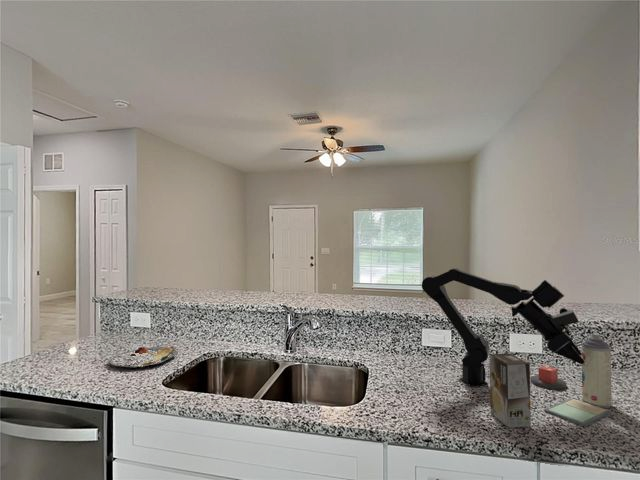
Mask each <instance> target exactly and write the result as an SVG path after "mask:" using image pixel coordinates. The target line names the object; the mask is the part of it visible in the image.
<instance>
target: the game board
mask: <svg viewBox="0 0 640 480" xmlns="http://www.w3.org/2000/svg"><path fill="white" fill-rule="evenodd" d="M611 411H612V410H609V409H603V408H600V407H597V406H594V405H591V404H588V403H585V402H583V401H582V400H579V399H578V400H577V399H575V398H568V399H566V400H563V401H561V402H558V403H556V404H553V405H551V406H549V407H546V408H544V412H545V413H547V414H551V415H552V416H555V417H559V418H560V419H564V420H567V421H568V422H572V423H573V424H576V425H580V426H582V427H584V428H585V427H587V426H589V425H592V424H593V423H595V422H598V421H599V420H601V419H604V418H605V417H606V416H609V415H611V413H612V412H611Z"/></svg>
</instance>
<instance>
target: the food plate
mask: <svg viewBox="0 0 640 480" xmlns="http://www.w3.org/2000/svg"><path fill="white" fill-rule="evenodd" d="M148 350H152V351H157V354H156V355H157V356H156V355H153V356H152V357H155V356H156V357H155V358H156V359H153V360H156V361H155V362H148V363H147V362H145V363H143V364H139V363H138V365H143V366H148V367H149V365H157V364H161V363H164V362H165V361H167V360H170V359H172V358H173V357H175V356H177V355H179V354H178V351H177V350H176V349H175V347H174V346H169V347H165V346H159V347H158V346H153V347H145V346H143V347H142V346H140V347H138V348H136V349H133V350H130V351H125V352H122V353H120V354H118V355H116V356H114V357H111V358H110V359H109V360H108V364H110V365H112V366H114V367H121V366H120V365H116V364H113V363H112V359H114V358H116V357H117V356H119V355H122V354H124V353H128V352H134V351H135V353H139V354H142V353H148V354H151V353H150V352H149V351H148ZM170 354H171V355H170ZM169 355H170V356H169ZM130 356H136V355H135V354H131V355H130ZM140 356H141V355H140ZM147 356H148V355H147ZM168 356H169V357H168ZM148 359H149V358H148ZM151 360H152V359H151ZM159 360H161V362H157V361H159ZM156 362H157V363H156ZM122 367H124V368H137V367H139V366H136V365H133V366H127V365H124V366H122ZM139 368H140V367H139Z"/></svg>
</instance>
